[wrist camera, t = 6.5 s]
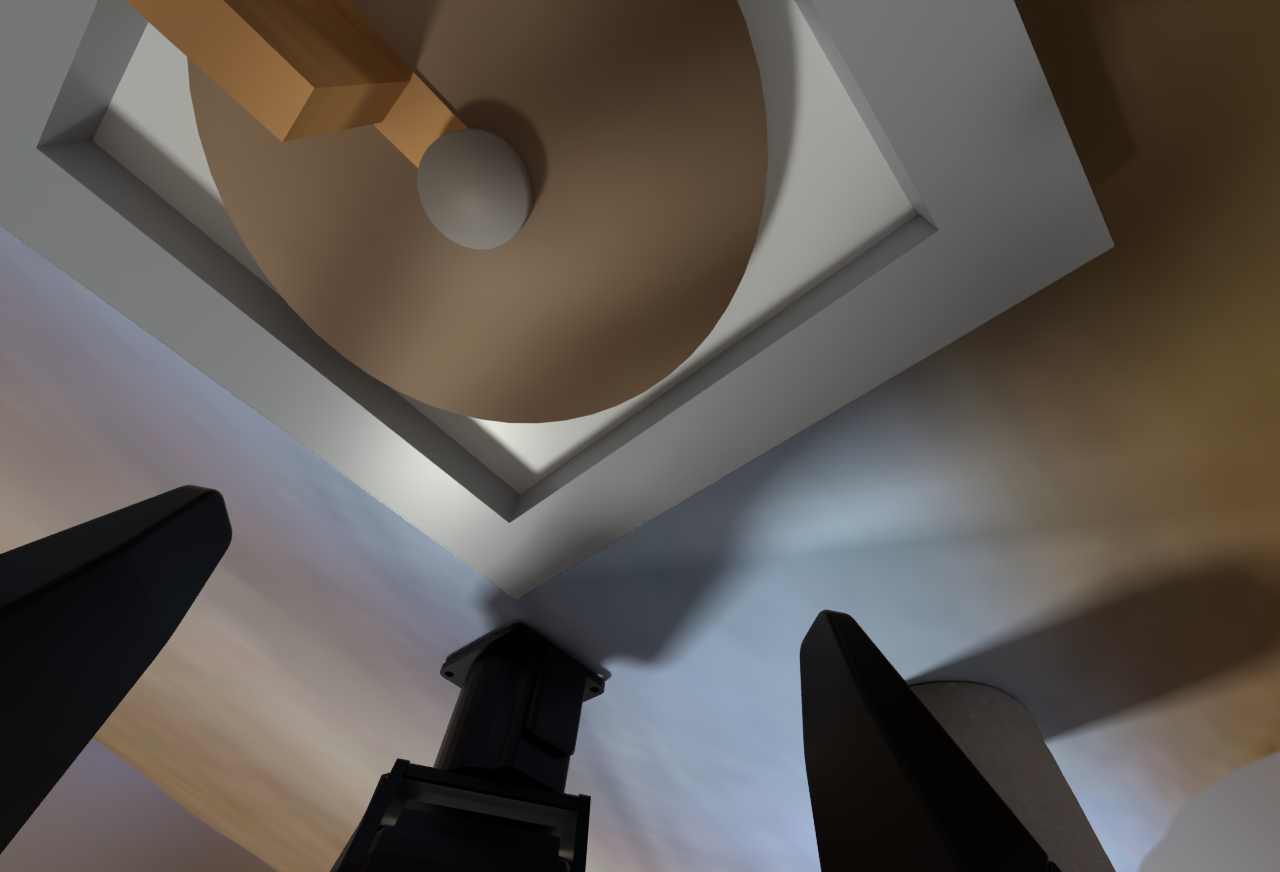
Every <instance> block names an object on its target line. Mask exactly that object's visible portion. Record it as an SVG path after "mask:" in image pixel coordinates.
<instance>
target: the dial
mask: <svg viewBox="0 0 1280 872" xmlns="http://www.w3.org/2000/svg"><path fill="white" fill-rule="evenodd" d="M125 1H126V2H127V3H128V4H129V5H130V6H131V7H132V8H134V9H135V10H136V11H137V12H138V13H139V14H140V15H141V16H142V17H144V18H145V19H146V20H147V21H148V22H149V23H150V24H151V25H152V26H154V27H155V28H156V29H157V30H158V31H159V32H160V33H161V34H162V35H164V36H165V37H166V38H167V39H168V40H169V41H170V42H171V43H172V44H173V45H175V46H176V47H177V48H178V49H179V50H180V51H181V52H182V53H183V54H185V55H186V56H187V62H188V74H189V87H190V94H191V99H192V104H193V109H194V114H195V119H196V124H197V129H198V134H199V137H200V140H201V144H202V147H203V150H204V153H205V156H206V160H207V163H208V166H209V169H210V172H211V175H212V178H213V180H214V182H215V185H216V187H217V189H218V192H219V194H220V196H221V199H222V201H223V203H224V206H225V208H226V211H227V213H228V214H229V216H230V218H231V220H232V222H233V224H234V226H235V227H236V229H237V231H238V233H239V235H240V237H241V238H242V240H243V242H244V244H245V246H246V247H247V249H248V250H249V252H250V253H251V255H252V256H253V258H254V259H255V261H256V262H257V264H258V265H259V267H260V268H261V270H262V271H263V273H264V274H265V276H266V277H267V279H268V280H269V281H270V282H271V284H272V285H273V286H274V287H275V289H276V290H277V291H278V292H279V294H280V295H281V296H282V297H283V298H284V300H285V301H286V302H287V303H288V305H289V306H290V307H291V308H292V309H293V310H294V311H295V312H296V313H297V314H298V315H299V316H300V317H301V318H302V319H303V321H304V322H305V323H306V324H307V325H308V326H309V327H310V328H311V329H312V330H313V331H314V332H315V333H316V334H317V335H319V336H320V337H321V338H322V339H323V340H324V341H326V342H327V343H328V344H329V345H330V346H331V347H333V348H334V349H335V350H336V351H337V352H338V353H340V354H341V355H342V356H343V357H345V358H346V359H348V360H349V361H350V362H352V363H353V364H355V365H356V366H357V367H359V368H360V369H362V370H363V371H365V372H366V373H367V374H369V375H370V376H372V377H374V378H376V379H377V380H379V381H381V382H383V383H384V384H386V385H388V386H390V387H391V388H393V389H395V390H396V391H399V392H401V393H403V394H405V395H407V396H410V397H412V398H414V399H416V400H418V401H421V402H423V403H425V404H428V405H431V406H434V407H437V408H440V409H443V410H446V411H449V412H451V413H455V414H459V415H464V416H468V417H472V418H477V419H481V420H489V421H497V422H505V423H547V422H557V421H566V420H570V419H575V418H579V417H584V416H588V415H593V414H595V413H598V412H601V411H604V410H607V409H609V408H612V407H615V406H618V405H620V404H622V403H624V402H626V401H628V400H630V399H632V398H634V397H636V396H638V395H640V394H642V393H644V392H645V391H647V390H648V389H650V388H651V387H653V386H654V385H656V384H657V383H659V382H660V381H662V380H663V379H665V378H666V377H667V376H669V375H670V374H671V373H672V372H673V371H674V370H675V369H677V368H678V367H679V366H680V365H681V364H682V363H683V362H685V361H686V360H687V359H688V358H689V357H690V356H691V355H692V354H693V353H694V352H695V350H696V349H697V348H698V347H699V346H700V345H701V344H702V342H703V341H704V340H705V339H706V338H707V337H708V335H709V334H710V333H711V332H712V330H713V329H714V327H715V326H716V324H717V323H718V321H719V320H720V318H721V317H722V315H723V314H724V312H725V311H726V309H727V308H728V306H729V304H730V302H731V300H732V298H733V296H734V294H735V292H736V290H737V288H738V286H739V284H740V282H741V280H742V278H743V276H744V274H745V271H746V268H747V265H748V262H749V259H750V257H751V254H752V251H753V248H754V245H755V242H756V239H757V234H758V229H759V225H760V220H761V215H762V211H763V206H764V200H765V189H766V178H767V166H768V145H767V116H766V109H765V103H764V96H763V90H762V83H761V77H760V70H759V66H758V63H757V59H756V56H755V52H754V48H753V45H752V41H751V38H750V34H749V31H748V27H747V23H746V21H745V18H744V16H743V13H742V11H741V9H740V6H739V4H738V1H737V0H125Z"/></svg>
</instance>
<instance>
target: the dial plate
mask: <svg viewBox="0 0 1280 872" xmlns="http://www.w3.org/2000/svg"><path fill="white" fill-rule="evenodd" d="M737 1H738V4H739V6H740V9H741V11H742V13H743V16H744V18H745V21H746V23H747V27H748V31H749V34H750V38H751V41H752V45H753V48H754V52H755V56H756V59H757V63H758V66H759V70H760V77H761V83H762V90H763V96H764V103H765V109H766V116H767V145H768V166H767V178H766V189H765V200H764V206H763V211H762V215H761V220H760V225H759V229H758V234H757V239H756V242H755V245H754V248H753V251H752V254H751V257H750V259H749V262H748V265H747V268H746V271H745V274H744V276H743V278H742V280H741V282H740V284H739V286H738V288H737V290H736V292H735V294H734V296H733V298H732V300H731V302H730V304H729V306H728V308H727V309H726V311H725V312H724V314H723V315H722V317H721V318H720V320H719V321H718V323H717V324H716V326H715V327H714V329H713V330H712V332H711V333H710V334H709V335H708V337H707V338H706V339H705V340H704V341H703V342H702V344H701V345H700V346H699V347H698V348H697V349H696V350H695V352H694V353H693V354H692V355H691V356H690V357H689V358H688V359H687V360H686V361H685V362H683V363H682V364H681V365H680V366H679V367H678V368H677V369H675V370H674V371H673V372H672V373H671V374H670V375H669V376H667V377H666V378H665V379H663V380H662V381H660V382H659V383H657V384H656V385H654V386H653V387H651V388H650V389H648V390H647V391H645V392H644V393H642V394H640V395H638V396H636V397H634V398H632V399H630V400H628V401H626V402H624V403H622V404H620V405H618V406H615V407H612V408H609V409H607V410H604V411H601V412H598V413H595V414H593V415H588V416H584V417H579V418H575V419H570V420H566V421H557V422H547V423H505V422H497V421H489V420H481V419H477V418H472V417H468V416H464V415H459V414H455V413H451V412H449V411H446V410H443V409H440V408H437V407H434V406H431V405H428V404H425V403H423V402H421V401H418V400H416V399H414V398H412V397H410V396H407V395H405V394H403V393H401V392H399V391H396V390H395V389H393V388H391V387H390V386H388V385H386V384H384V383H383V382H381V381H379V380H377V379H376V378H374V377H372V376H370V375H369V374H367V373H366V372H365V371H363V370H362V369H360V368H359V367H357V366H356V365H355V364H353V363H352V362H350V361H349V360H348V359H346V358H345V357H343V356H342V355H341V354H340V353H338V352H337V351H336V350H335V349H334V348H333V347H331V346H330V345H329V344H328V343H327V342H326V341H324V340H323V339H322V338H321V337H320V336H319V335H317V334H316V333H315V332H314V331H313V330H312V329H311V328H310V327H309V326H308V325H307V324H306V323H305V322H304V321H303V319H302V318H301V317H300V316H299V315H298V314H297V313H296V312H295V311H294V310H293V309H292V308H291V307H290V306H289V305H288V303H287V302H286V301H285V300H284V298H283V297H282V296H281V295H280V294H279V292H278V291H277V290H276V289H275V287H274V286H273V285H272V284H271V282H270V281H269V280H268V279H267V277H266V276H265V274H264V273H263V271H262V270H261V268H260V267H259V265H258V264H257V262H256V261H255V259H254V258H253V256H252V255H251V253H250V252H249V250H248V249H247V247H246V246H245V244H244V242H243V240H242V238H241V237H240V235H239V233H238V231H237V229H236V227H235V226H234V224H233V222H232V220H231V218H230V216H229V214H228V213H227V211H226V208H225V206H224V203H223V201H222V199H221V196H220V194H219V192H218V189H217V187H216V185H215V182H214V180H213V178H212V175H211V172H210V169H209V166H208V163H207V160H206V156H205V153H204V150H203V147H202V144H201V140H200V137H199V134H198V129H197V124H196V119H195V114H194V109H193V104H192V99H191V94H190V87H189V74H188V62H187V56H186V55H185V54H183V53H182V52H181V51H180V50H179V49H178V48H177V47H176V46H175V45H173V44H172V43H171V42H170V41H169V40H168V39H167V38H166V37H165V36H164V35H162V34H161V33H160V32H159V31H158V30H157V29H156V28H155V27H154V26H152V25H151V24H150V23H149V22H148V21H147V20H146V19H145V18H144V17H142V16H141V15H140V14H139V13H138V12H137V11H136V10H135V9H134V8H132V7H131V6H130V5H129V4H128V3H127V2H126V1H125V0H0V226H1V227H3V228H4V229H5V230H7V231H8V232H10V233H11V234H12V235H14V236H15V237H17V238H18V239H19V240H21V241H22V242H23V243H25V244H26V245H28V246H29V247H30V248H32V249H33V250H34V251H36V252H37V253H39V254H40V255H41V256H43V257H44V258H45V259H47V260H48V261H50V262H51V263H52V264H54V265H55V266H56V267H58V268H59V269H61V270H62V271H63V272H65V273H66V274H67V275H69V276H70V277H72V278H73V279H74V280H76V281H77V282H79V283H80V284H81V285H83V286H84V287H85V288H87V289H88V290H90V291H91V292H92V293H94V294H95V295H96V296H98V297H99V298H101V299H102V300H103V301H105V302H106V303H107V304H109V305H110V306H112V307H113V308H114V309H116V310H117V311H118V312H120V313H121V314H123V315H124V316H125V317H127V318H128V319H129V320H131V321H132V322H134V323H135V324H136V325H138V326H139V327H140V328H142V329H143V330H145V331H146V332H147V333H149V334H150V335H152V336H153V337H154V338H156V339H157V340H158V341H160V342H161V343H163V344H164V345H165V346H167V347H168V348H169V349H171V350H172V351H174V352H175V353H176V354H178V355H179V356H180V357H182V358H183V359H185V360H186V361H187V362H189V363H190V364H191V365H193V366H194V367H196V368H197V369H198V370H200V371H201V372H202V373H204V374H205V375H207V376H208V377H209V378H211V379H212V380H213V381H215V382H216V383H218V384H219V385H220V386H222V387H223V388H225V389H226V390H227V391H229V392H230V393H231V394H233V395H234V396H236V397H237V398H238V399H240V400H241V401H242V402H244V403H245V404H247V405H248V406H249V407H251V408H252V409H253V410H255V411H256V412H258V413H259V414H260V415H262V416H263V417H264V418H266V419H267V420H269V421H270V422H271V423H273V424H274V425H275V426H277V427H278V428H280V429H281V430H282V431H284V432H285V433H287V434H288V435H289V436H291V437H292V438H293V439H295V440H296V441H298V442H299V443H300V444H302V445H303V446H304V447H306V448H307V449H309V450H310V451H311V452H313V453H314V454H315V455H317V456H318V457H320V458H321V459H322V460H324V461H325V462H326V463H328V464H329V465H331V466H332V467H333V468H335V469H336V470H337V471H339V472H340V473H342V474H343V475H344V476H346V477H347V478H348V479H350V480H351V481H353V482H354V483H355V484H357V485H358V486H360V487H361V488H362V489H364V490H365V491H366V492H368V493H369V494H371V495H372V496H373V497H375V498H376V499H377V500H379V501H380V502H382V503H383V504H384V505H386V506H387V507H388V508H390V509H391V510H393V511H394V512H395V513H397V514H398V515H399V516H401V517H402V518H404V519H405V520H406V521H408V522H409V523H410V524H412V525H413V526H415V527H416V528H417V529H419V530H420V531H421V532H423V533H424V534H426V535H427V536H428V537H430V538H431V539H433V540H434V541H435V542H437V543H438V544H439V545H441V546H442V547H444V548H445V549H446V550H448V551H449V552H450V553H452V554H453V555H455V556H456V557H457V558H459V559H460V560H461V561H463V562H464V563H466V564H467V565H468V566H470V567H471V568H472V569H474V570H475V571H477V572H478V573H479V574H481V575H482V576H483V577H485V578H486V579H488V580H489V581H490V582H492V583H493V584H495V585H496V586H497V587H499V588H500V589H501V590H503V591H504V592H506V593H507V594H508V595H510V596H511V597H512V598H514V599H515V600H517V599H518V598H520V597H522V596H523V595H525V594H527V593H528V592H530V591H532V590H533V589H535V588H537V587H539V586H540V585H542V584H544V583H545V582H547V581H549V580H550V579H552V578H554V577H555V576H557V575H559V574H561V573H562V572H564V571H566V570H567V569H569V568H571V567H572V566H574V565H576V564H577V563H579V562H581V561H583V560H584V559H586V558H588V557H589V556H591V555H593V554H594V553H596V552H598V551H599V550H601V549H603V548H605V547H606V546H608V545H610V544H611V543H613V542H615V541H616V540H618V539H620V538H621V537H623V536H625V535H627V534H628V533H630V532H632V531H633V530H635V529H637V528H638V527H640V526H642V525H643V524H645V523H647V522H649V521H650V520H652V519H654V518H655V517H657V516H659V515H660V514H662V513H664V512H665V511H667V510H669V509H671V508H672V507H674V506H676V505H677V504H679V503H681V502H682V501H684V500H686V499H688V498H689V497H691V496H693V495H694V494H696V493H698V492H699V491H701V490H703V489H704V488H706V487H708V486H710V485H711V484H713V483H715V482H716V481H718V480H720V479H721V478H723V477H725V476H726V475H728V474H730V473H732V472H733V471H735V470H737V469H738V468H740V467H742V466H743V465H745V464H747V463H748V462H750V461H752V460H754V459H755V458H757V457H759V456H760V455H762V454H764V453H765V452H767V451H769V450H770V449H772V448H774V447H776V446H777V445H779V444H781V443H782V442H784V441H786V440H787V439H789V438H791V437H792V436H794V435H796V434H798V433H799V432H801V431H803V430H804V429H806V428H808V427H809V426H811V425H813V424H814V423H816V422H818V421H820V420H821V419H823V418H825V417H826V416H828V415H830V414H831V413H833V412H835V411H837V410H838V409H840V408H842V407H843V406H845V405H847V404H848V403H850V402H852V401H853V400H855V399H857V398H859V397H860V396H862V395H864V394H865V393H867V392H869V391H870V390H872V389H874V388H875V387H877V386H879V385H881V384H882V383H884V382H886V381H887V380H889V379H891V378H892V377H894V376H896V375H897V374H899V373H901V372H903V371H904V370H906V369H908V368H909V367H911V366H913V365H914V364H916V363H918V362H919V361H921V360H923V359H925V358H926V357H928V356H930V355H931V354H933V353H935V352H936V351H938V350H940V349H941V348H943V347H945V346H947V345H948V344H950V343H952V342H953V341H955V340H957V339H958V338H960V337H962V336H963V335H965V334H967V333H969V332H970V331H972V330H974V329H975V328H977V327H979V326H980V325H982V324H984V323H986V322H987V321H989V320H991V319H992V318H994V317H996V316H997V315H999V314H1001V313H1002V312H1004V311H1006V310H1008V309H1009V308H1011V307H1013V306H1014V305H1016V304H1018V303H1019V302H1021V301H1023V300H1024V299H1026V298H1028V297H1030V296H1031V295H1033V294H1035V293H1036V292H1038V291H1040V290H1041V289H1043V288H1045V287H1046V286H1048V285H1050V284H1052V283H1053V282H1055V281H1057V280H1058V279H1060V278H1062V277H1063V276H1065V275H1067V274H1068V273H1070V272H1072V271H1074V270H1075V269H1077V268H1079V267H1080V266H1082V265H1084V264H1085V263H1087V262H1089V261H1090V260H1092V259H1094V258H1096V257H1097V256H1099V255H1101V254H1102V253H1104V252H1106V251H1107V250H1109V249H1111V248H1112V247H1114V246H1115V245H1114V243H1113V240H1112V238H1111V235H1110V233H1109V231H1108V228H1107V226H1106V223H1105V221H1104V218H1103V216H1102V214H1101V211H1100V209H1099V206H1098V204H1097V201H1096V199H1095V197H1094V194H1093V192H1092V189H1091V187H1090V184H1089V182H1088V180H1087V177H1086V175H1085V172H1084V170H1083V167H1082V165H1081V163H1080V160H1079V158H1078V155H1077V153H1076V150H1075V148H1074V146H1073V143H1072V141H1071V138H1070V136H1069V133H1068V131H1067V129H1066V126H1065V124H1064V121H1063V119H1062V116H1061V114H1060V112H1059V109H1058V107H1057V104H1056V102H1055V99H1054V97H1053V95H1052V92H1051V90H1050V87H1049V85H1048V82H1047V80H1046V78H1045V75H1044V73H1043V70H1042V68H1041V65H1040V63H1039V60H1038V58H1037V56H1036V53H1035V51H1034V48H1033V46H1032V43H1031V41H1030V39H1029V36H1028V34H1027V31H1026V29H1025V26H1024V24H1023V22H1022V19H1021V17H1020V14H1019V12H1018V9H1017V7H1016V5H1015V2H1014V0H737Z"/></svg>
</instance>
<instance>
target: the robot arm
mask: <svg viewBox="0 0 1280 872" xmlns="http://www.w3.org/2000/svg"><path fill="white" fill-rule="evenodd" d="M231 539H232V527H231V523H230V520H229V516H228V512H227V508H226V505H225V501H224V498H223V495H222V494H221V493H220V492H219V491H217V490H215V489H210V488H205V487H200V486H194V485H186V486H182V487H179V488H176V489H173V490H171V491H168V492H165V493H163V494H160V495H157V496H155V497H152V498H149V499H147V500H144V501H141V502H139V503H136V504H133V505H130V506H128V507H125V508H122V509H120V510H117V511H114V512H112V513H109V514H106V515H104V516H101V517H98V518H96V519H93V520H90V521H88V522H85V523H82V524H80V525H77V526H74V527H72V528H69V529H66V530H64V531H61V532H58V533H55V534H53V535H50V536H47V537H45V538H42V539H39V540H37V541H34V542H31V543H29V544H26V545H23V546H21V547H18V548H15V549H13V550H10V551H7V552H5V553H2V554H0V854H1V853H2V852H3V850H4V849H5V848H6V847H7V845H8V844H9V842H11V840H12V839H13V838H14V837H15V835H16V834H17V833H18V831H19V830H20V829H21V828H22V826H23V825H24V824H25V822H26V821H27V820H28V819H29V817H30V816H31V815H32V814H33V812H34V811H35V810H36V809H37V807H38V806H39V805H40V803H41V802H42V801H43V799H44V798H45V797H46V796H47V795H48V793H49V792H50V791H51V789H52V788H53V787H54V786H55V785H56V783H57V782H58V781H59V779H60V778H61V777H62V776H63V774H64V773H65V772H66V771H67V769H68V768H69V767H70V765H71V764H72V763H73V762H74V760H75V759H76V758H77V757H78V755H79V754H80V753H81V751H82V750H83V749H84V748H85V746H86V745H87V744H88V742H89V741H90V740H91V739H92V738H93V736H94V735H95V734H96V733H97V731H98V730H99V729H100V727H101V726H102V725H103V724H104V722H105V721H106V720H107V719H108V717H109V716H110V715H111V713H112V712H113V711H114V710H115V708H116V707H117V706H118V705H119V703H120V702H121V701H122V700H123V698H124V697H125V696H126V694H127V693H128V692H129V691H130V689H131V688H132V687H133V686H134V684H135V683H136V682H137V681H138V679H139V678H140V677H141V675H142V674H143V673H144V672H145V670H146V669H147V668H148V667H149V665H150V664H151V663H152V661H153V660H154V659H155V658H156V656H157V655H158V654H159V652H160V651H161V650H162V648H163V647H164V646H165V644H166V643H167V642H168V640H169V639H170V637H171V636H172V634H173V633H174V631H175V630H176V629H177V627H178V626H179V624H180V622H181V621H182V619H183V618H184V616H185V615H186V613H187V612H188V610H189V608H190V607H191V605H192V604H193V602H194V601H195V599H196V597H197V596H198V594H199V593H200V591H201V590H202V588H203V587H204V585H205V583H206V582H207V580H208V579H209V577H210V576H211V574H212V572H213V571H214V569H215V568H216V566H217V565H218V563H219V561H220V560H221V558H222V557H223V555H224V554H225V552H226V551H227V549H228V547H229V545H230V542H231ZM440 674H441V676H443V677H444V678H445V679H447V680H449V681H450V682H452V683H454V684H455V685H457V686H459V687H460V688H462V689H461V691H460V694H459V697H458V700H457V702H456V705H455V708H454V711H453V714H452V716H451V719H450V722H449V725H448V727H447V730H446V733H445V736H444V739H443V741H442V744H441V747H440V750H439V752H438V755H437V758H436V761H435V764H434V766H433V768H432V767H427V766H422V765H417V764H412V763H410V761H409V760H404V759H399V758H398V759H397V760H396V762H395V764H394V766H393V768H392V770H391V772H390V773H387V774H383V775H382V776H381V778H380V780H379V783H378V785H377V787H376V790H375V792H374V794H373V797H372V799H371V801H370V803H369V806H368V808H367V810H366V812H365V814H364V816H363V818H362V820H361V822H360V823H359V825H358V827H357V828H356V830H355V832H354V833H353V835H352V836H351V838H350V840H349V841H348V843H347V844H346V846H345V848H344V849H343V851H342V853H341V854H340V856H339V857H338V859H337V861H336V862H335V864H334V866H333V867H332V869H331V870H330V872H585V868H586V855H587V842H588V828H589V815H590V801H591V796H588V795H583V794H579V795H578V796H576V795H571V794H566V793H564V791H565V785H566V779H567V773H568V767H569V761H570V756H571V755H573V754H574V752H575V746H576V740H577V734H578V728H579V722H580V716H581V710H582V703H583V702H585V701H587V700H589V699H592V698H594V697H596V696H598V695H601V694H602V693H603V692H604V688H605V682H604V681H603V680H602V679H601V678H599V677H598V676H597V675H595V674H594V673H592V672H591V671H590V670H588V669H587V668H585V667H584V666H583V665H581V664H580V663H578V662H577V661H575V660H574V659H573V658H571V657H570V656H568V655H567V654H566V653H564V652H563V651H561V650H560V649H559V648H557V647H556V646H554V645H553V644H551V643H550V642H549V641H547V640H546V639H544V638H543V637H542V636H540V635H539V634H537V633H536V632H535V631H533V630H532V629H530V628H529V627H527V626H526V625H524V624H520V623H515V624H512V625H511V626H509V627H507V628H505V629H504V630H502V631H500V632H498V633H496V634H495V635H493V636H491V637H489V638H488V639H486V640H484V641H482V642H481V643H479V644H477V645H475V646H473V647H472V648H470V649H468V650H466V651H465V652H463V653H461V654H459V655H458V656H456V657H454V658H452V659H450V660H449V661H447V662H445V663H444V664H443V666H442V668H441V670H440ZM800 674H801V697H802V719H803V741H804V755H805V764H806V772H807V779H808V786H809V792H810V799H811V806H812V812H813V819H814V826H815V832H816V839H817V846H818V852H819V859H820V866H821V872H1062V871H1061V870H1060V868H1059V867H1058V866H1057V865H1056V864H1055V863H1054V862H1053V861H1049V858H1048V855H1047V853H1046V852H1045V851H1044V849H1043V848H1042V847H1041V846H1040V844H1039V843H1038V842H1037V841H1036V840H1035V838H1034V837H1033V836H1032V835H1031V834H1030V832H1029V831H1028V830H1027V829H1026V827H1025V826H1024V825H1023V824H1022V823H1021V821H1020V820H1019V819H1018V818H1017V817H1016V815H1015V814H1014V813H1013V812H1012V810H1011V809H1010V808H1009V807H1008V806H1007V804H1006V803H1005V802H1004V801H1003V800H1002V798H1001V797H1000V796H999V795H998V793H997V792H996V791H995V790H994V789H993V787H992V786H991V785H990V784H989V783H988V781H987V780H986V779H985V778H984V776H983V775H982V774H981V773H980V772H979V770H978V769H977V768H976V767H975V765H974V764H973V763H972V762H971V761H970V759H969V758H968V757H967V756H966V755H965V753H964V752H963V751H962V750H961V748H960V747H959V746H958V745H957V744H956V742H955V741H954V740H953V739H952V738H951V736H950V735H949V734H948V733H947V731H946V730H945V729H944V728H943V727H942V725H941V724H940V723H939V722H938V721H937V719H936V718H935V717H934V716H933V714H932V713H931V712H930V711H929V710H928V708H927V707H926V706H925V705H924V704H923V702H922V701H921V700H920V699H919V697H918V696H917V695H916V694H915V693H914V691H913V690H912V689H911V688H910V687H909V685H908V684H907V683H906V682H905V680H904V679H903V678H902V677H901V676H900V674H899V673H898V672H897V671H896V670H895V668H894V667H893V666H892V665H891V663H890V662H889V661H888V660H887V659H886V657H885V656H884V655H883V654H882V652H881V651H880V650H879V649H878V648H877V646H876V645H875V644H874V643H873V642H872V640H871V639H870V638H869V637H868V635H867V634H866V633H865V632H864V631H863V629H862V628H861V627H860V626H859V625H858V623H857V622H856V621H855V620H854V619H853V618H852V617H851V616H850V615H848V614H846V613H842V612H836V611H831V610H823V611H821V612H820V613H819V614H818V616H817V617H816V619H815V621H814V622H813V624H812V626H811V628H810V629H809V631H808V633H807V634H806V636H805V638H804V639H803V642H802V644H801V648H800Z"/></svg>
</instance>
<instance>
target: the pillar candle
mask: <svg viewBox="0 0 1280 872" xmlns="http://www.w3.org/2000/svg"><path fill="white" fill-rule="evenodd" d="M910 688H911V689H912V690H913V691H914V693H915V694H916V695H917V696H918V697H919V699H920V700H921V701H922V702H923V704H924V705H925V706H926V707H927V708H928V710H929V711H930V712H931V713H932V714H933V716H934V717H935V718H936V719H937V721H938V722H939V723H940V724H941V725H942V727H943V728H944V729H945V730H946V731H947V733H948V734H949V735H950V736H951V738H952V739H953V740H954V741H955V742H956V744H957V745H958V746H959V747H960V748H961V750H962V751H963V752H964V753H965V755H966V756H967V757H968V758H969V759H970V761H971V762H972V763H973V764H974V765H975V767H976V768H977V769H978V770H979V772H980V773H981V774H982V775H983V776H984V778H985V779H986V780H987V781H988V783H989V784H990V785H991V786H992V787H993V789H994V790H995V791H996V792H997V793H998V795H999V796H1000V797H1001V798H1002V800H1003V801H1004V802H1005V803H1006V804H1007V806H1008V807H1009V808H1010V809H1011V810H1012V812H1013V813H1014V814H1015V815H1016V817H1017V818H1018V819H1019V820H1020V821H1021V823H1022V824H1023V825H1024V826H1025V827H1026V829H1027V830H1028V831H1029V832H1030V834H1031V835H1032V836H1033V837H1034V838H1035V840H1036V841H1037V842H1038V843H1039V844H1040V846H1041V847H1042V848H1043V849H1044V851H1045V852H1046V853H1047V855H1048V858H1049V861H1053V862H1054V863H1055V864H1056V865H1057V866H1058V867H1059V868H1060V870H1061V871H1062V872H1116V871H1115V869H1114V867H1113V866H1112V864H1111V862H1110V860H1109V858H1108V856H1107V855H1106V853H1105V851H1104V849H1103V848H1102V846H1101V844H1100V842H1099V840H1098V838H1097V836H1096V834H1095V833H1094V831H1093V829H1092V827H1091V825H1090V823H1089V821H1088V819H1087V818H1086V816H1085V814H1084V812H1083V810H1082V808H1081V806H1080V805H1079V803H1078V801H1077V799H1076V797H1075V795H1074V794H1073V792H1072V790H1071V788H1070V787H1069V785H1068V783H1067V781H1066V779H1065V778H1064V776H1063V774H1062V772H1061V770H1060V768H1059V766H1058V765H1057V763H1056V761H1055V759H1054V757H1053V755H1052V754H1051V752H1050V750H1049V749H1048V747H1047V745H1046V744H1045V742H1044V740H1043V738H1042V736H1041V734H1040V732H1039V730H1038V728H1037V726H1036V724H1035V722H1034V720H1033V718H1032V716H1031V715H1030V713H1029V712H1028V711H1027V709H1026V708H1025V707H1024V706H1023V705H1022V704H1021V703H1020V702H1018V701H1017V700H1015V699H1014V698H1012V697H1010V696H1009V695H1007V694H1005V693H1004V692H1002V691H1000V690H998V689H996V688H993V687H990V686H985V685H983V684H976V683H967V682H933V683H930V684H923V685H917V686H912V687H910Z"/></svg>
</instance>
